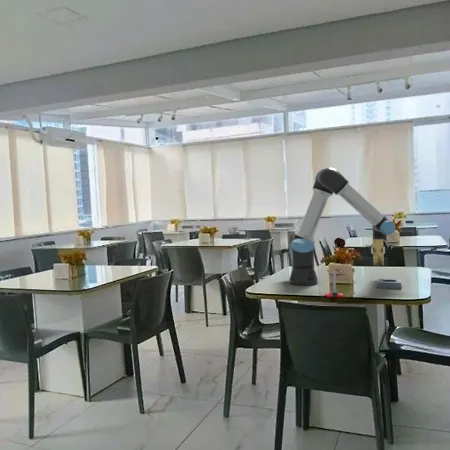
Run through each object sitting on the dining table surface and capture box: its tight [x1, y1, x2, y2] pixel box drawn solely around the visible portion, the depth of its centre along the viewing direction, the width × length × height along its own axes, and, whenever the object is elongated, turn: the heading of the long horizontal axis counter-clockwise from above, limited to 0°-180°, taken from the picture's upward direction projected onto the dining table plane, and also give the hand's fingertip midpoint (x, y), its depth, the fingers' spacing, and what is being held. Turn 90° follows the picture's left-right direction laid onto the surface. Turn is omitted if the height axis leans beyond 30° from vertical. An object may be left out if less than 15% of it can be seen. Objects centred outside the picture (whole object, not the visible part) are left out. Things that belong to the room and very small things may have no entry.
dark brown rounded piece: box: [333, 237, 346, 249], centre depth 298 cm, size 15×15×20 cm
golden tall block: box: [372, 238, 385, 267], centre depth 243 cm, size 5×5×13 cm
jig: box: [377, 278, 402, 290], centre depth 242 cm, size 11×10×3 cm
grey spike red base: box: [324, 269, 344, 299], centre depth 224 cm, size 8×13×9 cm
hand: (377, 250), depth 238 cm, fingers closed on golden tall block, 5 cm apart
